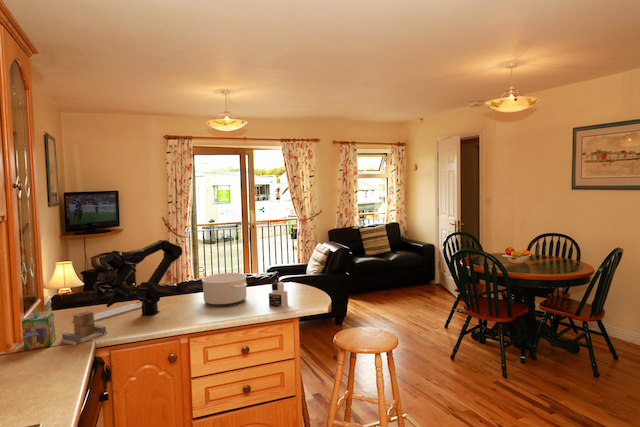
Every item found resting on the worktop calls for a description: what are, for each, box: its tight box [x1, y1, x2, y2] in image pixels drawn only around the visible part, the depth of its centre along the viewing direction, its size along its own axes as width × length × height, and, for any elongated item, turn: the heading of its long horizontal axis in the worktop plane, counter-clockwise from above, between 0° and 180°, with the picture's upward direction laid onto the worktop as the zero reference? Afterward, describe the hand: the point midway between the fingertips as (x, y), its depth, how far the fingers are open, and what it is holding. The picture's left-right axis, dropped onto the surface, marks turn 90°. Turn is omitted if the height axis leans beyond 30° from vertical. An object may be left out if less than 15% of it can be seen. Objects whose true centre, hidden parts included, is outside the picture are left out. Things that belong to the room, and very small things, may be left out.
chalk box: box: [21, 307, 57, 351], centre depth 164 cm, size 9×9×15 cm
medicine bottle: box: [268, 281, 289, 309], centre depth 206 cm, size 7×7×12 cm
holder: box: [60, 324, 108, 345], centre depth 171 cm, size 14×9×3 cm, turn 153°
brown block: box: [72, 310, 95, 338], centre depth 171 cm, size 6×4×9 cm
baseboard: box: [71, 300, 142, 323], centre depth 203 cm, size 31×3×12 cm
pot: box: [201, 272, 248, 308], centre depth 216 cm, size 33×23×14 cm
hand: (100, 305), depth 177 cm, fingers open, 9 cm apart
